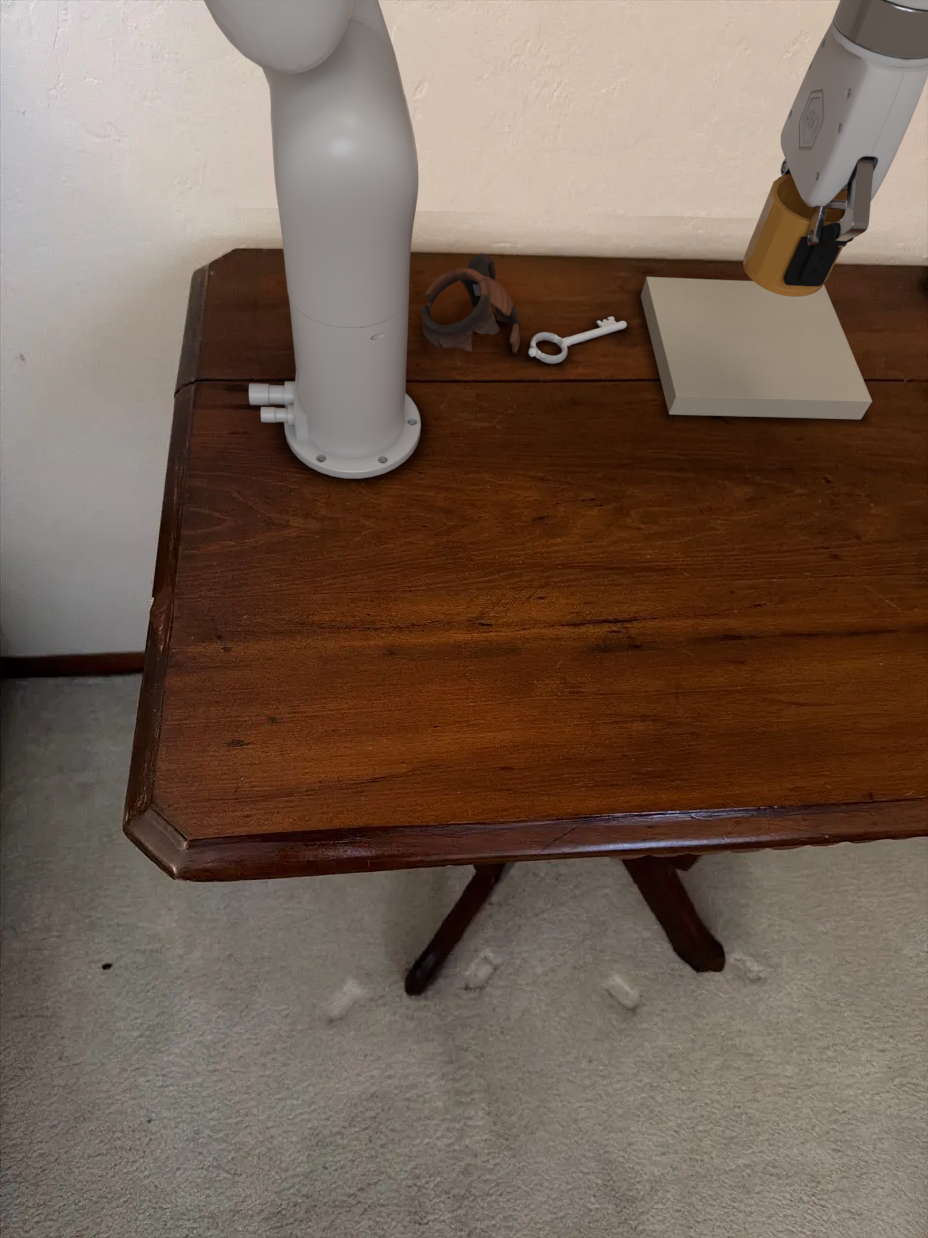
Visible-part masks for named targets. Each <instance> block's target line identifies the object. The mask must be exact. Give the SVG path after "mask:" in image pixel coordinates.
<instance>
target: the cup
mask: <svg viewBox="0 0 928 1238" xmlns="http://www.w3.org/2000/svg"><path fill="white" fill-rule="evenodd" d="M833 199H837V200H846V199H847V191H840V192H839V193H838V194H837V195H836V196H835V197H834V198H833ZM813 210H814V207H809V206H807V205H806V204H805V203H804V201H803V200H802V198H801V196H800V194H799V192H798V189H797V187H796V185H795V182H794V180H793V177H792V175H791V173H790V174H786V175H781V176H779V177H778V178H776V179H775V180H773V182H772V184H771V187H770V190H769V192H768V195H767V196H766V199H765V202H764V204H763V207H762V209H761V212H760V215H759V217H758V220H757V223H756V225H755V227H754V230H753V232H752V235H751V238H750V240H749V242H748V245H747V248H746V251H745V253H744V256H743V260H742V264H743V265H742V266H743V269H744V272H745V273H746V275H747V276H748V277H749V278H750V280H751V281H754V282H755V283H756V284H758V285H759V286H761V287H762V288H764V289H766V290H768V291H771V292H773V293H776V294H780V295H784V296H791V297H801V296H807V295H811V294H813V293H815V292H817V291H818V290H820V289H821V288H822V286H823V285H824V286H825V283H826V281H827V280H828V279H829V277H830V274H831V272H832V271H833V268H834V266H835V264H836V263H837V261H838V258H839V256H840V254H841V252H842V250H843V249H844V247H841V249H840V251H839V253H838V255H837V257H836V259H835V261H834V263H833V265H832V267H831V269H830V271H829V273H828V275H827V277H826V279H825V281H824V283H823V284H822V285H821V286H818V287H814V286H793V285H786V284H785V282H784V279H783V278H784V275H785V273H786V271H787V268H788V266H789V264H790V262H791V259H792V257H793V255H794V253H795V250H796V248H797V246H798V244H799V241H800V239H801V237H808V232H809V228H810V223H811V219H812V215H813ZM841 212H842V210H839V209H827V213H826V217H825V221H824V225H823V227H824V226H826V225H828V224H831V223H838V222H839V221H840V216H841Z"/></svg>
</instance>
